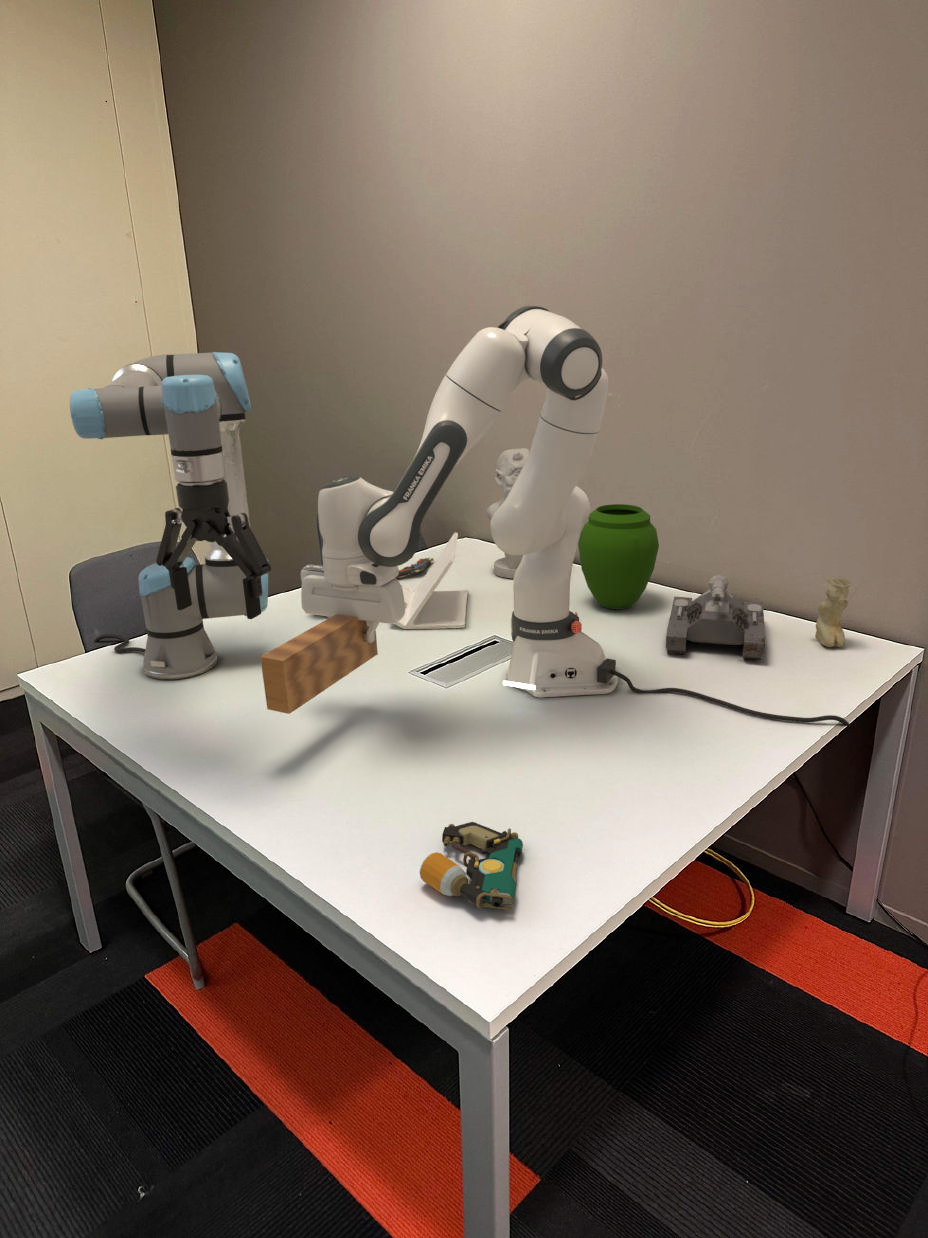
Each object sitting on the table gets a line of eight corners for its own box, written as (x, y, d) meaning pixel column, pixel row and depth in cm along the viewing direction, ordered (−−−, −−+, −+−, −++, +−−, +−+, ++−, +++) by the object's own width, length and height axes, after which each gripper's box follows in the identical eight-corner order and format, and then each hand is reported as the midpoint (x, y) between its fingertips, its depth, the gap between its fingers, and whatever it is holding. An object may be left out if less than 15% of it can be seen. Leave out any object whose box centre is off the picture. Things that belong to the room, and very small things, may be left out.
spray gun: (455, 831, 126) (550, 858, 121) (400, 892, 112) (506, 927, 106) (456, 805, 125) (552, 832, 119) (400, 865, 111) (507, 898, 105)
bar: (357, 650, 163) (353, 604, 160) (377, 654, 161) (374, 607, 158) (267, 709, 141) (260, 656, 137) (289, 714, 139) (282, 660, 135)
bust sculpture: (503, 593, 225) (502, 460, 212) (483, 567, 247) (480, 445, 234) (562, 587, 228) (563, 456, 215) (536, 562, 250) (536, 441, 237)
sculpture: (821, 649, 184) (830, 583, 179) (808, 637, 191) (816, 573, 185) (848, 649, 184) (858, 582, 179) (834, 636, 191) (843, 572, 185)
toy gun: (384, 572, 237) (419, 569, 235) (401, 557, 255) (434, 554, 253) (386, 581, 238) (420, 578, 236) (403, 566, 256) (435, 563, 253)
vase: (599, 587, 227) (601, 497, 218) (668, 600, 216) (673, 505, 208) (562, 608, 212) (564, 513, 204) (634, 623, 202) (639, 523, 193)
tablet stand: (467, 593, 225) (465, 531, 219) (465, 628, 202) (462, 559, 196) (399, 594, 226) (395, 532, 220) (388, 629, 203) (384, 560, 197)
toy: (673, 615, 206) (676, 556, 200) (760, 622, 200) (766, 561, 195) (664, 656, 183) (668, 590, 178) (763, 665, 177) (770, 596, 172)
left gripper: (119, 481, 131) (141, 611, 139) (255, 490, 122) (271, 628, 130) (152, 472, 138) (172, 596, 145) (284, 480, 129) (298, 612, 136)
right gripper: (290, 568, 154) (298, 639, 159) (389, 577, 146) (395, 652, 151) (309, 558, 159) (317, 627, 164) (406, 567, 151) (411, 639, 156)
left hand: (219, 612), depth 137 cm, fingers open, 13 cm apart
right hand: (355, 639), depth 157 cm, fingers closed on bar, 4 cm apart
